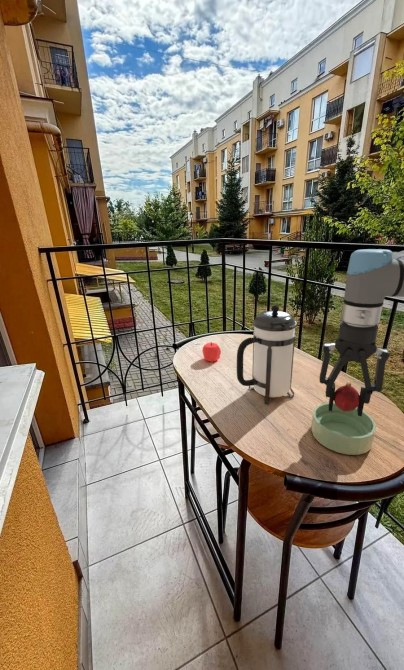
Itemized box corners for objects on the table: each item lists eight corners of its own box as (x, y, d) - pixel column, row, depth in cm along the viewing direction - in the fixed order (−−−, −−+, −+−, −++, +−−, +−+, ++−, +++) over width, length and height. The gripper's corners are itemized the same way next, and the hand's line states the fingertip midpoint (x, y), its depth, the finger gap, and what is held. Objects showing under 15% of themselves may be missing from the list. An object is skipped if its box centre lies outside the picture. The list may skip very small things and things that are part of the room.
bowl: (367, 425, 76) (371, 408, 74) (376, 463, 64) (380, 444, 62) (312, 414, 82) (314, 398, 80) (310, 448, 69) (312, 430, 67)
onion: (361, 419, 67) (366, 390, 64) (335, 417, 68) (339, 389, 65) (352, 405, 72) (357, 377, 70) (329, 403, 73) (333, 376, 70)
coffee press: (253, 377, 103) (255, 297, 93) (298, 386, 96) (306, 301, 86) (235, 401, 89) (235, 311, 79) (286, 415, 82) (294, 316, 71)
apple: (198, 358, 120) (197, 341, 117) (213, 354, 124) (213, 337, 121) (209, 365, 114) (208, 347, 111) (224, 360, 118) (224, 342, 115)
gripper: (313, 323, 62) (303, 411, 70) (415, 332, 55) (391, 427, 63) (314, 314, 69) (305, 395, 77) (405, 320, 62) (385, 409, 70)
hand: (344, 410), depth 70 cm, fingers closed on onion, 6 cm apart
